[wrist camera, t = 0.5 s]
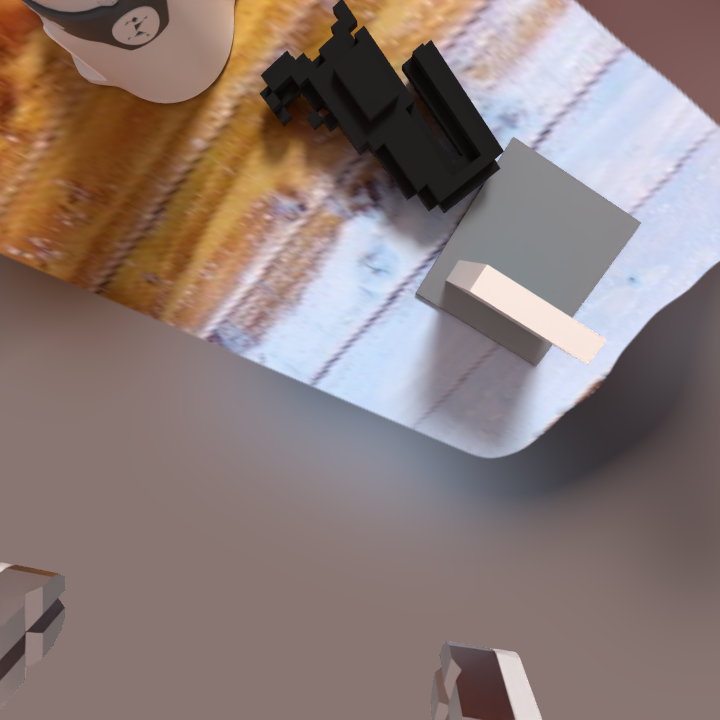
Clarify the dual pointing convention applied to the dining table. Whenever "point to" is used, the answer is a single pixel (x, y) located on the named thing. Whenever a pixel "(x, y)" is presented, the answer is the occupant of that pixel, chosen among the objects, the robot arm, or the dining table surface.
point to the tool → (390, 111)
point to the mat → (530, 244)
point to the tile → (526, 309)
